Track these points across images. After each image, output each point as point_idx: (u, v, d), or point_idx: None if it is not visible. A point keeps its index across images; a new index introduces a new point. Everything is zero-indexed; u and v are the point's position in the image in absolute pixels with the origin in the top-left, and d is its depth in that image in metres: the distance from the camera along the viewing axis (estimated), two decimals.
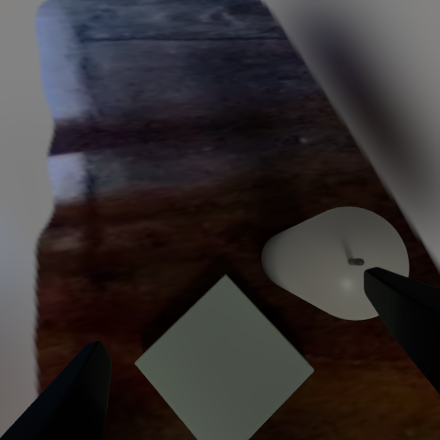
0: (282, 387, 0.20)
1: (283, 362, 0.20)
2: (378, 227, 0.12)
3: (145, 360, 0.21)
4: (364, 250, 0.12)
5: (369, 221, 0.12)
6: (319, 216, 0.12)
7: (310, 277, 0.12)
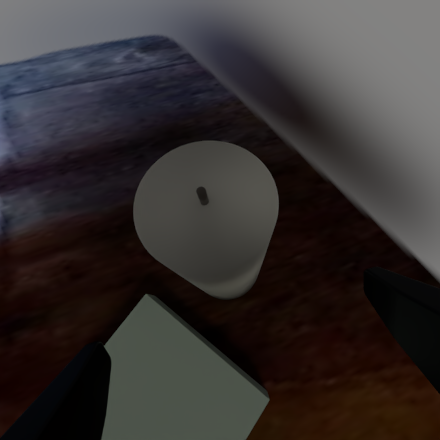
0: (231, 433, 0.15)
1: (227, 395, 0.15)
2: (233, 156, 0.09)
3: None
4: (219, 185, 0.09)
5: (222, 152, 0.10)
6: (161, 158, 0.10)
7: (152, 230, 0.09)
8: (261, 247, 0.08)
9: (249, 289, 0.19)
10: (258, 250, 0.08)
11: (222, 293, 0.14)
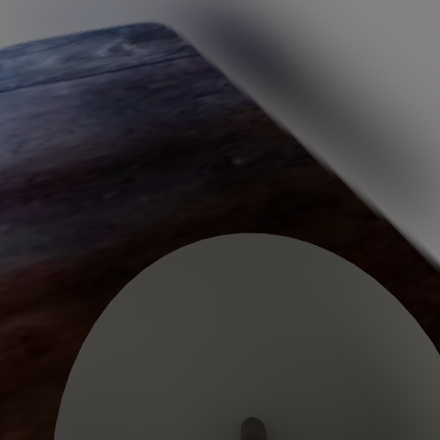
0: None
1: None
2: (321, 283, 0.04)
3: None
4: (292, 376, 0.03)
5: (290, 269, 0.04)
6: (137, 280, 0.04)
7: None
8: None
9: None
10: None
11: None
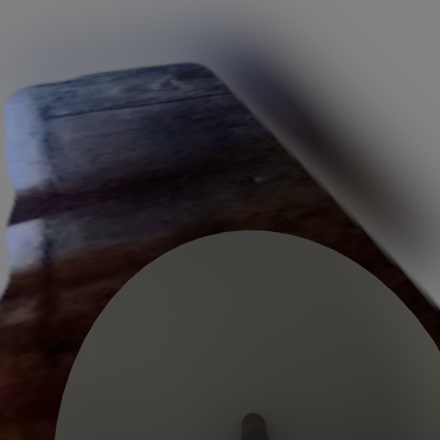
0: None
1: None
2: (322, 280, 0.04)
3: None
4: (293, 371, 0.03)
5: (290, 266, 0.04)
6: (138, 277, 0.04)
7: None
8: None
9: None
10: None
11: None
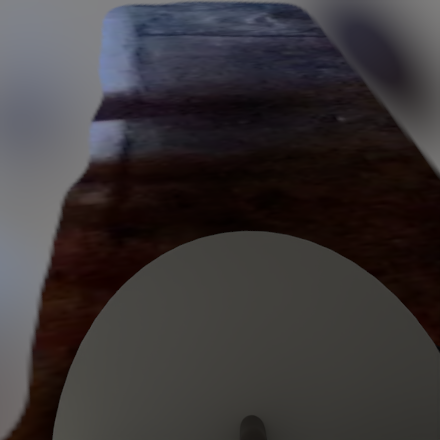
0: None
1: None
2: (321, 281, 0.04)
3: None
4: (292, 373, 0.03)
5: (289, 267, 0.04)
6: (136, 278, 0.04)
7: None
8: None
9: None
10: None
11: None
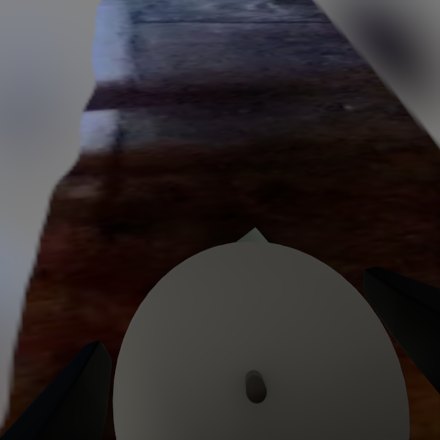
0: None
1: None
2: (303, 278, 0.05)
3: None
4: (281, 342, 0.05)
5: (280, 267, 0.05)
6: (168, 276, 0.05)
7: None
8: None
9: None
10: None
11: None
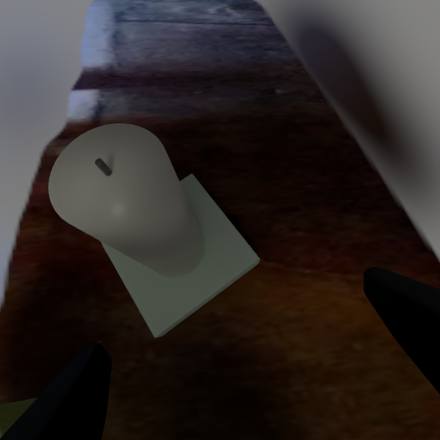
0: (227, 270, 0.21)
1: (231, 248, 0.22)
2: (138, 137, 0.11)
3: None
4: (123, 160, 0.11)
5: (129, 133, 0.11)
6: (79, 137, 0.11)
7: (62, 194, 0.10)
8: (147, 209, 0.10)
9: (193, 268, 0.21)
10: (144, 212, 0.10)
11: (154, 264, 0.16)
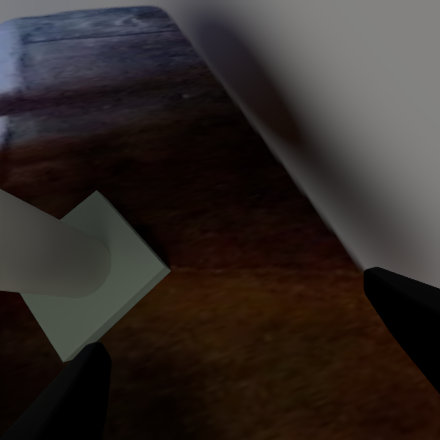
0: (133, 283, 0.21)
1: (136, 260, 0.22)
2: None
3: None
4: None
5: None
6: None
7: None
8: None
9: (98, 285, 0.21)
10: None
11: (31, 292, 0.16)
